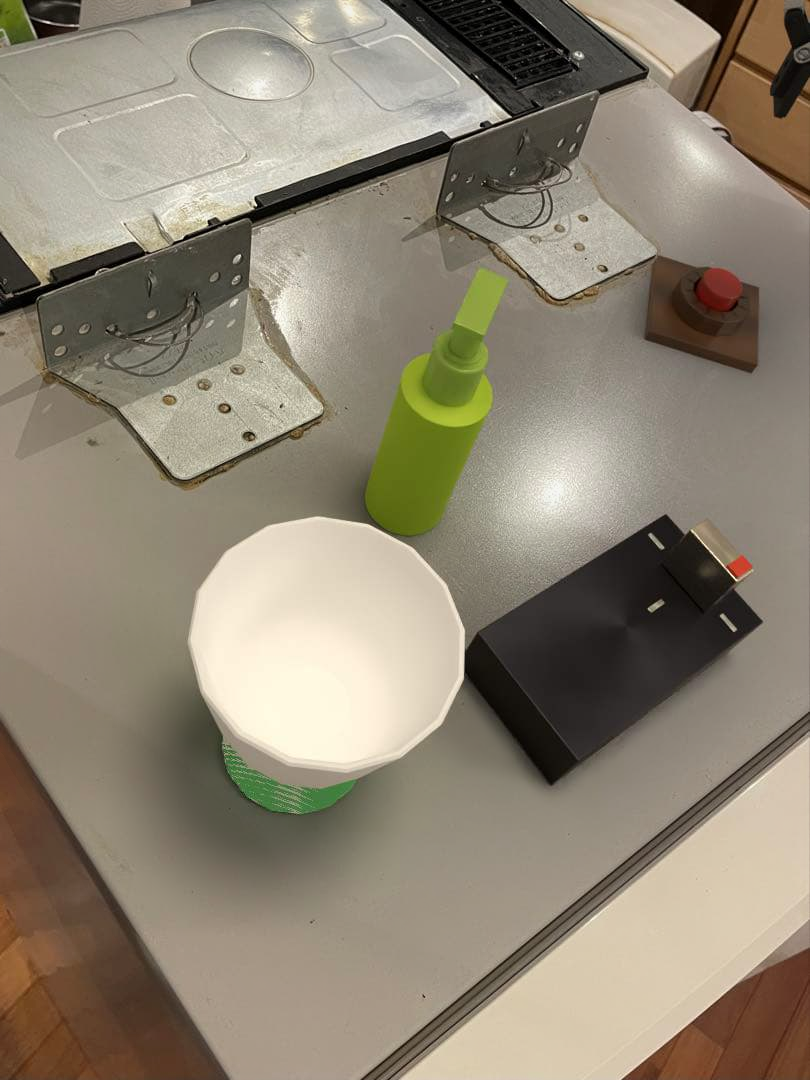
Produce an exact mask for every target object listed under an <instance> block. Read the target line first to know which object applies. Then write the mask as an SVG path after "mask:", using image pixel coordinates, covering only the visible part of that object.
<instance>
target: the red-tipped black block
mask: <svg viewBox="0 0 810 1080" xmlns="http://www.w3.org/2000/svg"><path fill="white" fill-rule="evenodd" d="M662 564H663V565H664V566H665V567H666V569H667V570H668V571H669V572H670V573H671V574H672V576H673V577H674V578H675V579H676V580H677V581H678V582H679V584H680V585H681V586H682V587H683V588H684V589H685V591H686V592H687V593H688V594H689V595H690V596H691V597H692V599H693V600H694V601H695V602H696V603H697V604H698V605H699V607H700V608H701V609H702V610H703V611H704V612H707V611H709V610H710V609H711V608H713V607H714V606H716V605H717V604H719V603H720V602H721V601H723V600H724V599H725V598H726V597H727V596H728V595H729V594H730V593H731V592H732V591H733V590H736V588H737V587H739V586H740V585H741V584H742V583H743V582H744V581H745V580H746V579H747V578H748V577H749V576H750V575H751V574H752V573H753V572H754V571H755V569H754V566H753V564H751V563H750V561H749V560H747V558H746V557H745V556H744V555H743V554H741V553H740V552H739V551H738V550H737V549H736V548H735V547H734V545H732V543H731V542H730V541H729V540H728V539H727V538H726V537H725V535H724V534H723V533H722V532H721V531H720V530H719V529H718V528H717V527H716V525H714V524H713V522H712V521H711V520H710V518H705V519H704V520H703V521H701V522H699V523H697V524H696V525H695V526H692V527H691V528H690V529H689V530H688V531H686V533H685V536H684V537H683V538H682V539H681V540H680V541H679V543H678V544H677V545H676V546H675V547H674V548H673V549H672V551H671V552H670V553H669V554H668V555H667V556H666V557H665V559H664V560H663V561H662Z"/></svg>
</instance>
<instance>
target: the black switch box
mask: <svg viewBox="0 0 810 1080" xmlns="http://www.w3.org/2000/svg"><path fill="white" fill-rule="evenodd" d="M685 535H686V533H684V532H683V531H682V530H681V528H680V527H679V526H678V525H677V524H676V523H675V521H673V519H671V517H670V516H669V515H668V514H667V513H664V514H663V515H661V516H660V517H658V518H657V519H655V520H654V521H652V522H650V523H648V524H646V525H645V526H644V527H642V528H640V529H639V530H637V531H636V532H634V533H633V534H630V536H628V537H626V538H624V539H623V540H622V541H620V542H618V543H617V544H615V545H614V546H612V547H610V548H609V549H607V550H605V551H604V552H602V553H601V554H600V555H597V556H596V557H595V558H593V559H591V560H589V561H588V562H587V563H585V564H582V566H580V567H579V568H577V569H575V570H574V571H572V572H570V573H569V574H567V575H566V576H564V577H562V578H560V580H558V581H556V582H554V583H553V584H552V585H550V586H548V587H547V588H545V589H543V590H542V591H540V592H539V593H537V594H536V595H534V596H532V597H531V598H529V599H528V600H526V601H524V602H522V603H521V604H520V605H518V606H517V607H515V608H513V609H512V610H510V611H508V612H507V613H505V614H503V615H502V616H501V617H499V618H497V619H496V620H494V621H492V622H491V623H489V624H487V625H486V626H484V627H483V628H481V629H480V630H478V631H477V632H476V634H475V635H474V637H473V638H472V640H471V642H470V643H469V644H468V646H467V648H466V649H465V650H464V675H466V677H467V676H468V677H467V679H469V680H470V682H471V683H472V684H473V686H474V687H475V688H476V690H477V689H478V690H477V691H478V692H479V693H480V695H481V696H482V698H483V699H484V700H485V701H486V703H487V704H488V705H489V707H490V708H491V709H492V711H493V712H494V713H495V715H496V716H497V717H498V718H499V720H500V721H501V722H502V724H503V725H504V726H505V727H506V729H507V730H508V731H509V733H510V735H512V737H513V738H514V740H515V741H516V742H517V743H518V745H519V746H520V747H521V748H522V750H523V751H524V753H526V755H527V756H528V757H529V759H530V760H531V762H532V763H533V764H534V765H535V767H536V768H537V769H538V770H539V773H541V775H542V777H543V778H544V779H545V780H546V781H547V783H548V784H549V785H550V786H553V785H554V784H556V783H558V781H561V780H562V778H564V777H565V776H567V775H568V774H569V773H570V772H572V771H573V770H575V769H576V768H577V767H579V766H580V765H581V764H582V763H584V762H585V761H586V760H588V759H589V758H591V757H592V756H593V755H594V754H596V753H597V752H599V751H600V750H601V749H602V748H604V747H605V746H607V744H608V743H610V742H612V741H613V740H614V739H616V738H617V737H618V736H620V735H621V734H622V733H624V732H625V731H626V730H628V729H629V728H630V727H632V726H633V725H634V724H635V723H637V722H638V721H640V720H641V719H642V718H644V717H645V716H646V715H647V714H649V713H650V712H651V711H653V710H654V709H655V708H657V707H658V706H659V705H661V704H662V703H664V702H665V701H666V700H667V699H669V698H670V697H671V696H672V695H674V694H675V693H677V692H678V691H679V690H680V689H682V688H683V687H684V686H686V685H687V684H689V683H690V682H691V681H692V680H694V679H695V678H696V677H697V676H699V675H700V674H702V673H703V672H704V671H706V670H707V669H708V668H709V667H711V666H712V665H713V664H715V663H717V661H719V660H720V659H721V658H723V657H725V655H727V654H728V653H729V652H731V650H733V649H734V648H735V647H737V646H738V645H739V644H740V643H741V642H742V641H744V640H745V639H746V638H747V637H749V635H750V634H752V633H753V632H754V631H755V630H756V629H758V628H759V627H760V626H761V625H762V624H763V623H764V621H763V619H762V618H761V617H760V616H759V614H757V613H756V612H755V610H754V609H753V608H752V607H751V606H750V605H749V604H748V602H746V601H745V600H744V599H743V597H742V596H741V594H739V592H737V591H736V589H734V590H733V591H732V592H731V593H730V594H729V595H728V596H727V597H726V598H725V599H724V600H723V601H721V602H720V603H719V604H717V605H716V606H714V607H713V608H711V609H710V610H709V611H707V612H704V611H703V610H702V609H701V608H700V607H699V605H698V604H697V603H696V602H695V601H694V600H693V599H692V597H691V596H690V595H689V594H688V593H687V592H686V591H685V589H684V588H683V587H682V586H681V585H680V584H679V582H678V581H677V580H676V579H675V578H674V577H673V576H672V574H671V573H670V572H669V571H668V570H667V569H666V567H665V566H664V565H663V564H662V561H663V560H664V559H665V557H666V556H667V555H668V554H669V553H670V552H671V551H672V549H673V548H674V547H675V546H676V545H677V544H678V543H679V541H680V540H681V539H682V538H683V537H684V536H685Z"/></svg>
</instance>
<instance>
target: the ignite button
mask: <svg viewBox="0 0 810 1080" xmlns="http://www.w3.org/2000/svg"><path fill="white" fill-rule="evenodd" d="M711 268H712V269H709V270H708V271H706V272H705V274H704V275H703V277H702V279H701V280H700V282H699V283H698V285H697V286H696V290H695V293H696V296H697V298H698V300H699V301H700V302H702V303H703V304H704V305H705V306H707V307H708V308H710V309H713V310H716V311H719V312H725V311H728V310H730V309H731V308H732V307H733V305H734V304H735V302H736V301H737V299H738V298H739V297H740V295H741V293H742V284H741V282H742V281H741V280H740V279H739V278H738V276H737V275H735V274H734V273H732V272H731V271H729V270H727V269H724V268H721V267H711ZM740 281H741V282H740Z"/></svg>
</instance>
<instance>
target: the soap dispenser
mask: <svg viewBox="0 0 810 1080" xmlns="http://www.w3.org/2000/svg"><path fill="white" fill-rule="evenodd" d="M509 281H510V279H509V278H508V277H505V276H503V275H500V274H498V273H495V272H493V271H490V270H489V269H486V268H483V267H480V266H479V268H478V271H477V272H476V274H475V276H474V278H473V280H472V282H471V284H470V286H469V288H468V290H467V291H466V295H465V297H464V299H463V301H462V303H461V305H460V307H459V310H458V311H457V314H456V316H455V318H454V319H453V322H452V325H451V328H450V330H447V331H444V332H442V333H441V334H439V335H438V336H437V337H436V339H435V341H434V343H433V345H432V348H431V351H430V352H428V353H424V354H421V355H419V356H417V357H415V358H413V359H412V360H410V361H409V363H407V365H406V366H405V368H403V371H402V374H401V377H400V380H399V383H398V386H397V388H396V393H395V396H394V399H393V402H392V405H391V408H390V412H389V415H388V418H387V421H386V424H385V428H384V430H383V434H382V437H381V440H380V443H379V447H378V450H377V453H376V456H375V459H374V462H373V466H372V468H371V472H370V475H369V478H368V481H367V485H366V487H365V491H364V503H365V507H366V510H367V511H368V513H369V515H370V517H371V518H372V520H373V521H374V522H375V523H377V524H378V526H380V527H382V529H384V530H386V531H387V532H391V533H392V534H395V535H400V536H407V537H408V536H409V537H411V536H418V535H422V534H425V533H427V532H429V531H431V530H432V529H433V528H434V527H435V526H436V525H437V524H438V523H439V522H440V520H441V518H442V516H443V514H444V512H445V510H446V507H447V505H448V504H449V501H450V499H451V496H452V495H453V492H454V490H455V487H456V485H457V483H458V481H459V479H460V476H461V474H462V472H463V470H464V467H465V466H466V464H467V461H468V459H469V457H470V454H471V452H472V450H473V447H474V446H475V443H476V441H477V439H478V436H479V434H480V432H481V431H482V428H483V425H484V423H485V421H486V419H487V417H488V415H489V412H490V410H491V408H492V404H493V399H494V397H493V389H492V385H491V383H490V381H489V379H488V378H487V376H486V374H485V373H484V372H485V370H486V367H487V365H488V362H489V357H490V356H489V350H488V347H487V345H486V344H485V343H484V342H483V340H484V339H485V335H486V334H487V331H488V329H489V327H490V324H491V322H492V320H493V318H494V316H495V314H496V312H497V308H498V306H499V305H500V301H501V299H502V297H503V296H504V293H505V290H506V288H507V285H508V283H509Z"/></svg>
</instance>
